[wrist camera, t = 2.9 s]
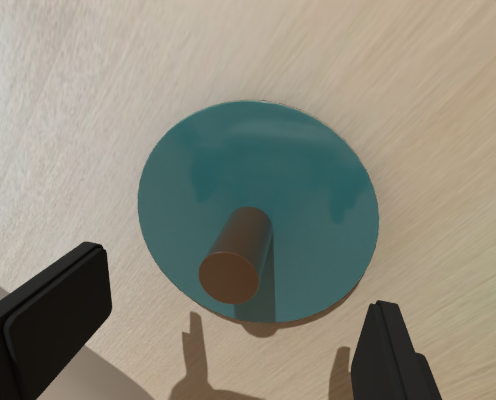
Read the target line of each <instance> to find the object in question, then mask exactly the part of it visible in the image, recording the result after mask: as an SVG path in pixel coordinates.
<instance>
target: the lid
mask: <svg viewBox="0 0 496 400" xmlns="http://www.w3.org/2000/svg"><path fill="white" fill-rule="evenodd" d="M138 214H139V222H140V226H141V230H142V234H143V237H144V240H145V242H146V245H147V247H148V249H149V251H150V253H151V255H152V257H153V259H154V260H155V262H156V263H157V265H158V266H159V268H160V269H161V271H162V272H163V273H164V274H165V275H166V277H167V278H168V279H169V280H170V281H171V282H172V283H173V284H174V285H175V286H176V287H177V288H178V289H179V290H180V291H182V292H183V293H184V294H186V295H187V296H188V297H189V298H191V299H192V300H194V301H195V302H197V303H199V304H200V305H202V306H204V307H206V308H208V309H210V310H212V311H214V312H216V313H219V314H222V315H224V316H227V317H231V318H234V319H238V320H243V321H249V322H257V323H281V322H288V321H294V320H298V319H302V318H305V317H309V316H311V315H314V314H316V313H318V312H321V311H323V310H324V309H326V308H328V307H330V306H332V305H333V304H335V303H336V302H337V301H339V300H340V299H341V298H343V297H344V296H345V295H346V294H347V293H348V292H349V291H350V290H351V289H352V288H353V287H354V286H355V285H356V284H357V282H358V281H359V280H360V278H361V277H362V276H363V274H364V272H365V271H366V269H367V267H368V265H369V263H370V261H371V258H372V256H373V253H374V250H375V247H376V242H377V237H378V229H379V213H378V204H377V199H376V195H375V191H374V188H373V185H372V182H371V180H370V178H369V175H368V173H367V171H366V169H365V167H364V166H363V164H362V162H361V161H360V159H359V158H358V156H357V154H356V153H355V152H354V150H353V149H352V148H351V147H350V146H349V144H348V143H347V142H346V141H345V140H344V139H343V138H342V137H341V136H340V135H339V134H338V133H337V132H335V131H334V130H333V129H332V128H331V127H330V126H328V125H327V124H325V123H324V122H322V121H321V120H319V119H318V118H316V117H314V116H312V115H310V114H308V113H306V112H304V111H302V110H300V109H297V108H294V107H291V106H288V105H285V104H281V103H276V102H270V101H265V100H239V101H229V102H225V103H221V104H217V105H213V106H210V107H207V108H205V109H202V110H200V111H197V112H195V113H193V114H191V115H190V116H188V117H186V118H185V119H183V120H181V121H180V122H179V123H177V124H176V125H175V126H174V127H172V128H171V129H170V130H169V131H168V132H167V133H166V134H165V135H164V136H163V137H162V138H161V140H160V141H159V142H158V143H157V145H156V146H155V148H154V149H153V151H152V152H151V154H150V156H149V158H148V160H147V162H146V164H145V166H144V169H143V173H142V176H141V179H140V184H139V191H138Z"/></svg>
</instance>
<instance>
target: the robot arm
mask: <svg viewBox="0 0 496 400" xmlns="http://www.w3.org/2000/svg"><path fill="white" fill-rule="evenodd" d="M111 311H112V300H111V290H110V281H109V271H108V261H107V253H106V250H105V249H103V246H102V245H100V244H96V243H91V242H83V243H81V244H80V245H79V246H77V247H76V248H74V249H73V250H71V251H70V252H69V253H67V254H66V255H64V256H63V257H61V258H60V259H59V260H57V261H56V262H54V263H53V264H52V265H50V266H49V267H47V268H46V269H44V270H43V271H42V272H40V273H39V274H37V275H36V276H34V277H33V278H32V279H30V280H29V281H27V282H26V283H24V284H23V285H22V286H20V287H19V288H17V289H16V290H14V291H13V292H12V293H10V294H9V295H7V296H6V297H5V298H3V299H2V300H0V400H36V399H37V398H38V397H39V396H40V395H41V394H42V393H43V391H44V390H45V389H46V388H47V387H48V386H49V385H50V383H51V382H52V381H53V380H54V379H55V378H56V377H57V375H58V374H59V373H60V372H61V371H62V370H63V369H64V367H65V366H66V365H67V364H68V363H69V362H70V361H71V359H72V358H73V357H74V356H75V355H76V354H77V352H78V351H79V350H80V349H81V348H82V347H83V346H84V344H85V343H86V342H87V341H88V340H89V339H90V338H91V336H92V335H93V334H94V333H95V332H96V331H97V330H98V328H99V327H100V326H101V325H102V324H103V323H104V322H105V320H106V319H107V318H108V317H109V315H110V313H111ZM351 379H352V388H353V397H354V400H442V398H441V395H440V393H439V390H438V388H437V385H436V383H435V380H434V377H433V375H432V372H431V370H430V367H429V365H428V362H427V360H426V358H425V356H424V355H423V354H420V353H416V352H415V351H414V348H413V345H412V342H411V339H410V337H409V334H408V331H407V328H406V325H405V323H404V320H403V317H402V314H401V312H400V309H399V306H398V305H397V304H395V303H390V302H385V301H380V300H378V301H377V302H376V304H372V303H371V304H370V305H369V308H368V311H367V315H366V318H365V321H364V325H363V328H362V331H361V334H360V338H359V341H358V344H357V348H356V351H355V354H354V358H353V361H352V365H351Z"/></svg>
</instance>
